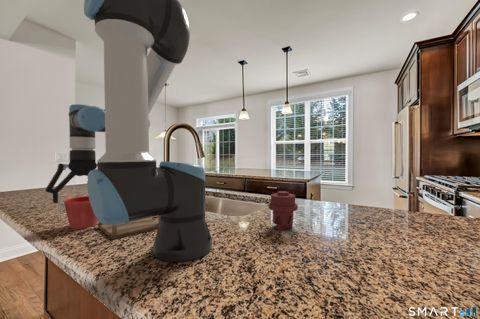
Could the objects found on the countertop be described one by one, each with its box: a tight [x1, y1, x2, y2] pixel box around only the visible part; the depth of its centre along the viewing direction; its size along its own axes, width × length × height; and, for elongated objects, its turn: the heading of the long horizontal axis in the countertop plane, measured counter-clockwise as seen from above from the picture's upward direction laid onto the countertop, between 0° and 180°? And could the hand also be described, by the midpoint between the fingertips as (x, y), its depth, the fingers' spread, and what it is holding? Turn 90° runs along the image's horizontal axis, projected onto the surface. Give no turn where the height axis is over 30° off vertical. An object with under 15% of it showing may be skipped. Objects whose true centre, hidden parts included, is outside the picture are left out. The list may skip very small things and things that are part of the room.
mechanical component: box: [268, 190, 299, 231], centre depth 78 cm, size 12×10×10 cm
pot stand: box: [97, 215, 160, 240], centre depth 78 cm, size 16×16×6 cm
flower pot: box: [63, 195, 99, 230], centre depth 79 cm, size 11×11×10 cm
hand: (83, 209), depth 80 cm, fingers open, 13 cm apart
